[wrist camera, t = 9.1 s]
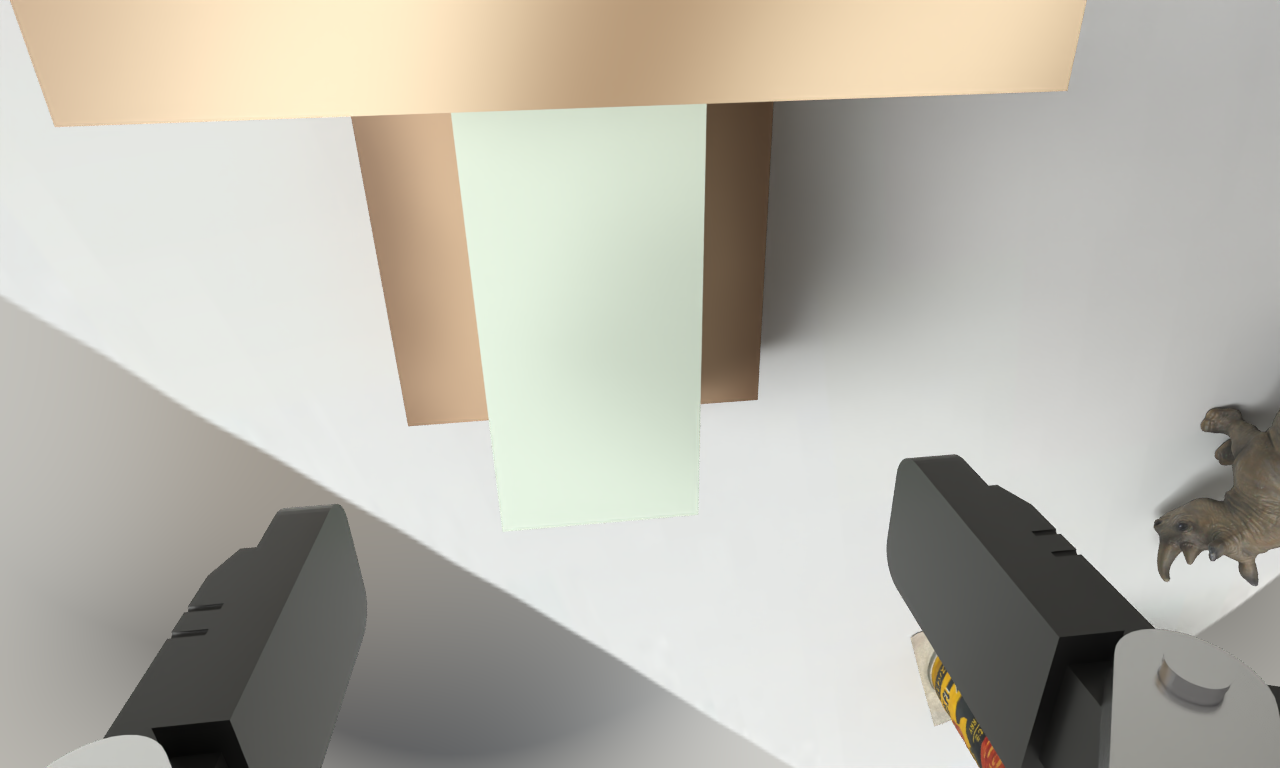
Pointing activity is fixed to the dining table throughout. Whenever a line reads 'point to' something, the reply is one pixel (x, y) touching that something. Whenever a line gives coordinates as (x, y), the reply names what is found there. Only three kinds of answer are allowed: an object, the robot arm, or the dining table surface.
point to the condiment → (951, 703)
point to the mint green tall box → (588, 306)
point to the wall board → (524, 54)
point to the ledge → (440, 271)
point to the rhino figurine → (1230, 501)
